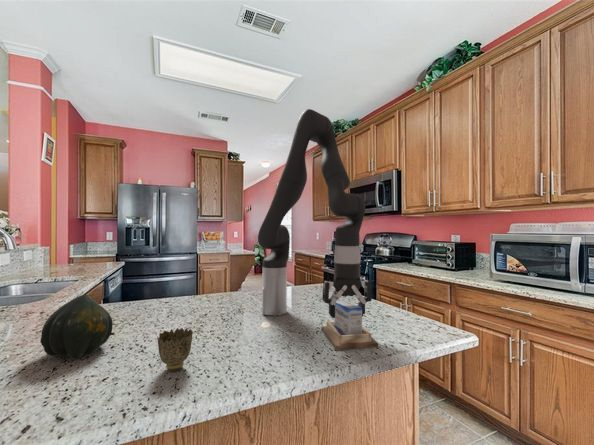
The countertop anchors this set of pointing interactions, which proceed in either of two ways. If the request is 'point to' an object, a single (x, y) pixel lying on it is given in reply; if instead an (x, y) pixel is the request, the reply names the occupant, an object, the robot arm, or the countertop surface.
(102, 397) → the countertop surface
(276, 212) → the robot arm
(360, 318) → the medicine box
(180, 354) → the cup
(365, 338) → the holder
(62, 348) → the squash
